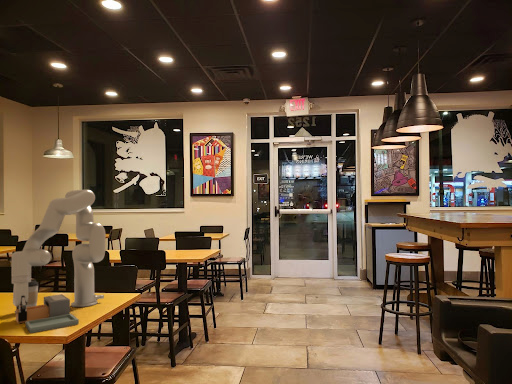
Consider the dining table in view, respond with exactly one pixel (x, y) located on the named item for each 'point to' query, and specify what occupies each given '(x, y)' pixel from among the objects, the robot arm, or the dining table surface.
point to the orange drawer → (35, 313)
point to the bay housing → (57, 305)
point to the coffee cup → (32, 293)
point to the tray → (51, 323)
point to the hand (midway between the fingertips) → (21, 319)
